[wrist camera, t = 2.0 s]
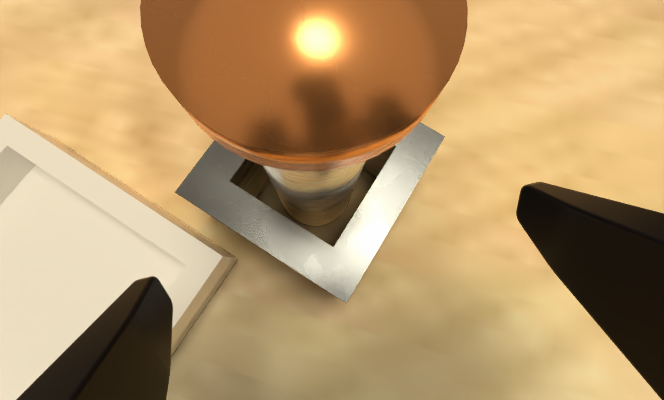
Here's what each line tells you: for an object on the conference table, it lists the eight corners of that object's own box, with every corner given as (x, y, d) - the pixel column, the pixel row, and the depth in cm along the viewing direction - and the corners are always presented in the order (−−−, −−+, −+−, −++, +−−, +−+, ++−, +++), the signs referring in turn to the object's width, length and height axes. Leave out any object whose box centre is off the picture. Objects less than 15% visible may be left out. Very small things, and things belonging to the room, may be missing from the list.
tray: (76, 496, 16) (21, 546, 13) (-127, 341, 17) (-220, 355, 14) (238, 258, 19) (222, 256, 16) (52, 137, 20) (5, 113, 17)
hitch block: (339, 295, 18) (346, 303, 13) (211, 213, 19) (174, 192, 14) (414, 169, 20) (444, 136, 15) (294, 98, 21) (287, 44, 16)
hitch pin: (330, 259, 19) (362, 221, 5) (247, 205, 19) (68, 37, 6) (381, 177, 20) (520, -37, 6) (301, 128, 20) (265, -171, 7)
